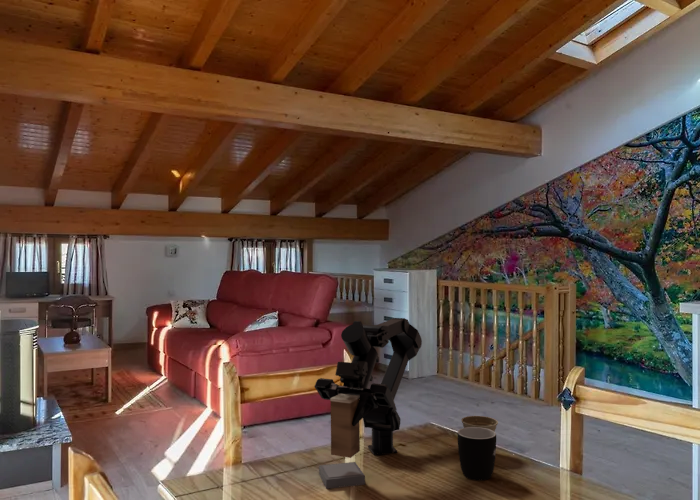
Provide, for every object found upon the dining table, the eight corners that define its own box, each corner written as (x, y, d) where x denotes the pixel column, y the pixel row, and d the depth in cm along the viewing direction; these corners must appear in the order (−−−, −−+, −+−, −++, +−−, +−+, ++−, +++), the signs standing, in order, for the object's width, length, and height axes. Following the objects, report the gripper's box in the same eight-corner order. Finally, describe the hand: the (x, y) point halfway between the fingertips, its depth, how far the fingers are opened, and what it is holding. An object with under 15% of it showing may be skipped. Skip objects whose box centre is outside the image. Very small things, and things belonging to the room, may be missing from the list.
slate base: (318, 473, 137) (318, 464, 137) (355, 470, 139) (355, 461, 139) (326, 488, 128) (326, 479, 128) (364, 484, 130) (364, 474, 130)
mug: (499, 483, 130) (499, 439, 130) (460, 482, 131) (459, 438, 131) (491, 464, 142) (490, 423, 142) (454, 463, 143) (454, 423, 143)
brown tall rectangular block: (340, 447, 136) (340, 393, 137) (360, 450, 134) (359, 395, 134) (330, 454, 132) (330, 398, 132) (350, 457, 130) (350, 400, 130)
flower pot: (501, 450, 152) (501, 417, 152) (494, 462, 144) (494, 427, 144) (466, 445, 156) (466, 414, 156) (457, 456, 148) (457, 423, 148)
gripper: (317, 345, 141) (294, 400, 131) (387, 350, 133) (369, 409, 123) (332, 371, 148) (312, 425, 138) (400, 377, 140) (383, 435, 130)
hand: (342, 423), depth 132 cm, fingers closed on brown tall rectangular block, 5 cm apart
